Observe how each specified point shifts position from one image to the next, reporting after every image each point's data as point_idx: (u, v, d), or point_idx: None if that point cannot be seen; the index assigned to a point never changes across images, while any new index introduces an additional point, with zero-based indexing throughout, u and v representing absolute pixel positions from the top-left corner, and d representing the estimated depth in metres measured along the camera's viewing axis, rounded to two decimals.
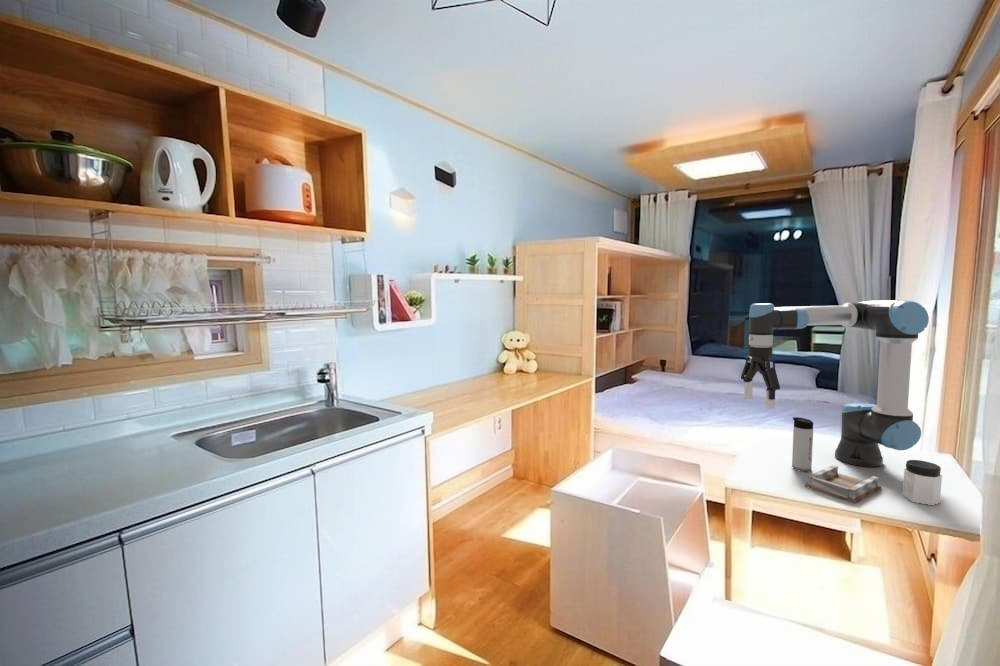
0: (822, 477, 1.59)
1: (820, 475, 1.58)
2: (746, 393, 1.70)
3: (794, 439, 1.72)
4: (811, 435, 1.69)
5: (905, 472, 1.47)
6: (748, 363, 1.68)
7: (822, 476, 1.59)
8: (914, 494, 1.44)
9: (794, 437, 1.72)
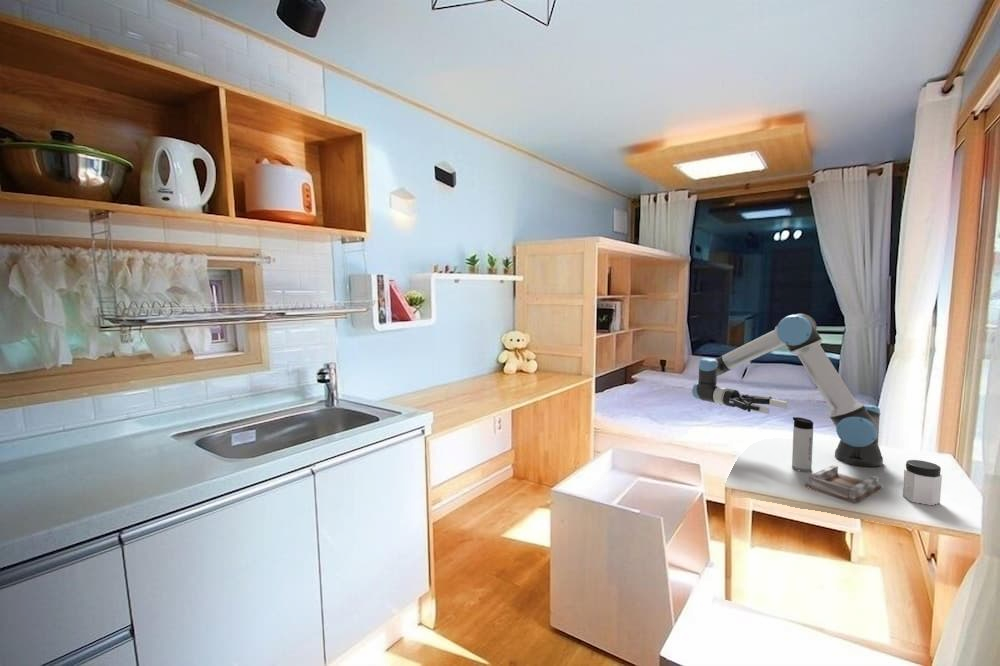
0: (822, 477, 1.59)
1: (820, 475, 1.58)
2: (780, 406, 1.84)
3: (794, 439, 1.72)
4: (811, 435, 1.69)
5: (905, 472, 1.47)
6: (751, 400, 1.93)
7: (822, 476, 1.59)
8: (914, 494, 1.44)
9: (794, 437, 1.72)
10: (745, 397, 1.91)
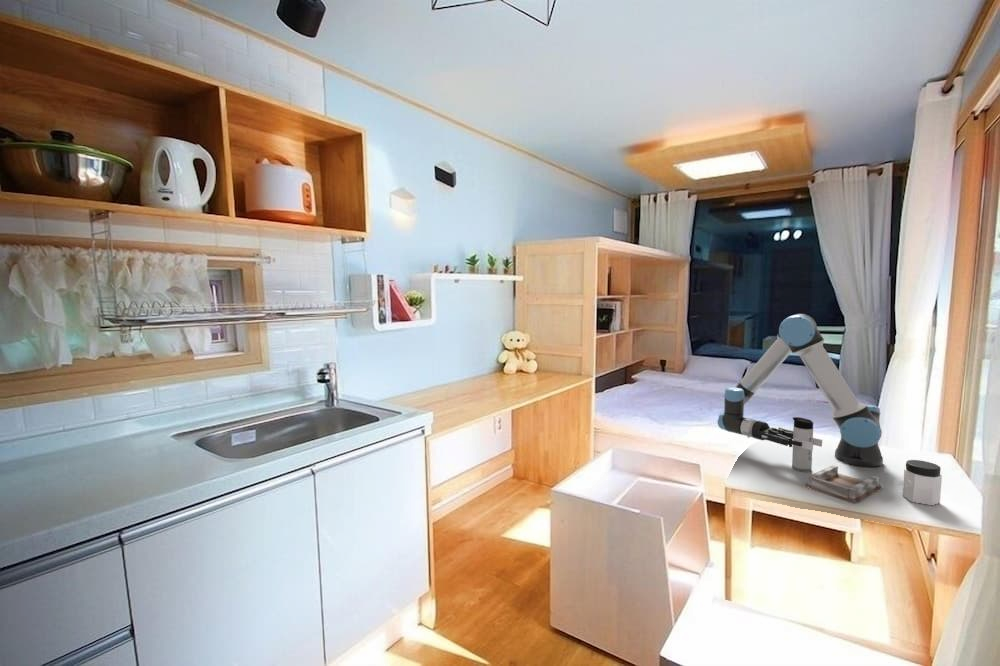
0: (822, 477, 1.59)
1: (820, 475, 1.58)
2: (814, 443, 1.71)
3: None
4: (811, 435, 1.69)
5: (905, 472, 1.47)
6: None
7: (822, 476, 1.59)
8: (914, 494, 1.44)
9: (794, 437, 1.72)
10: (775, 430, 1.82)
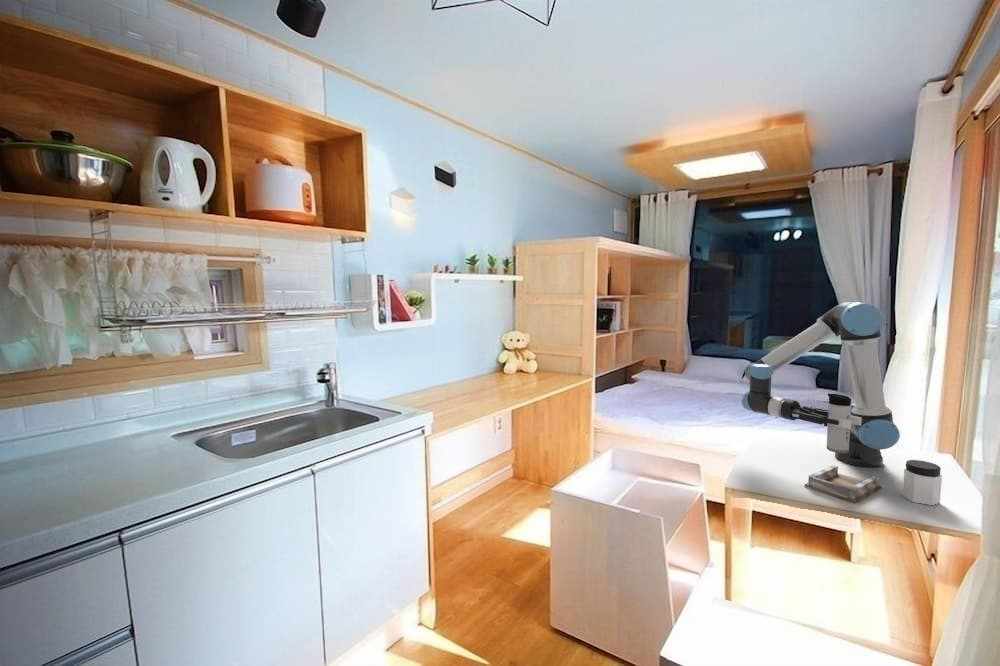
0: (822, 477, 1.59)
1: (820, 475, 1.58)
2: (852, 422, 1.55)
3: None
4: (849, 412, 1.52)
5: (905, 472, 1.47)
6: None
7: (822, 476, 1.59)
8: (914, 494, 1.44)
9: (829, 415, 1.56)
10: None
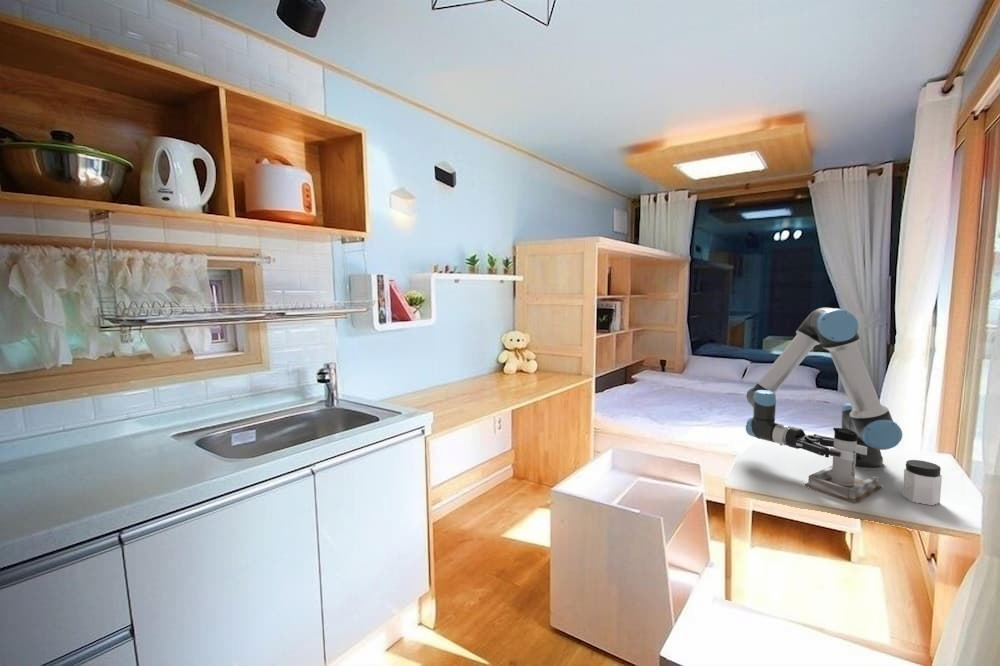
0: (822, 477, 1.59)
1: (820, 475, 1.58)
2: (858, 452, 1.55)
3: None
4: (855, 448, 1.52)
5: (905, 472, 1.47)
6: (819, 441, 1.66)
7: (822, 476, 1.59)
8: (914, 494, 1.44)
9: None
10: None
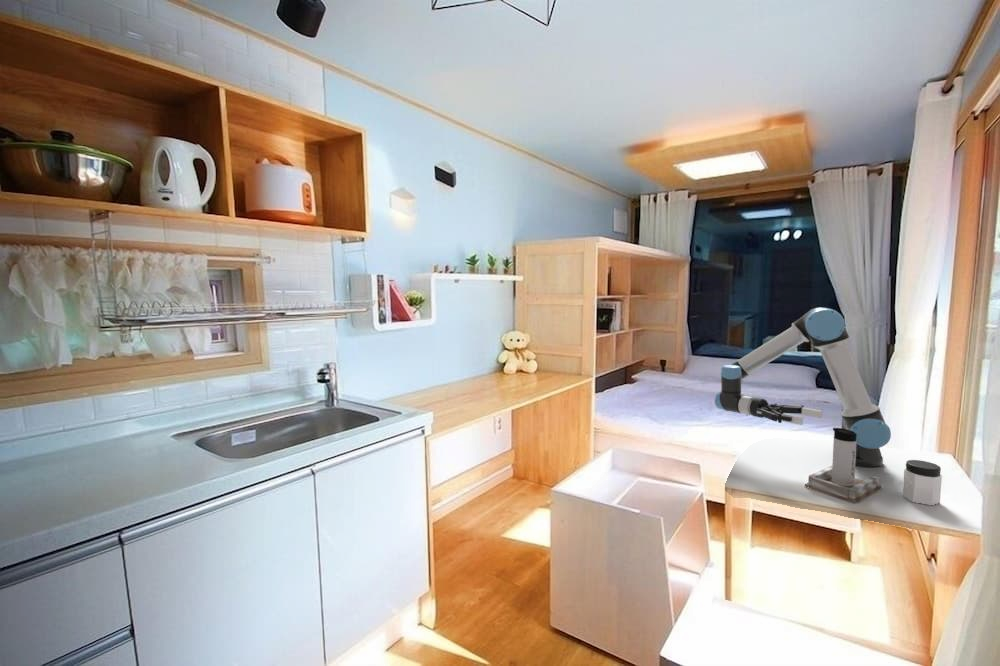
0: (822, 477, 1.59)
1: (820, 475, 1.58)
2: (814, 415, 1.68)
3: (835, 452, 1.55)
4: (854, 448, 1.52)
5: (905, 472, 1.47)
6: None
7: (822, 476, 1.59)
8: (914, 494, 1.44)
9: (835, 450, 1.55)
10: None
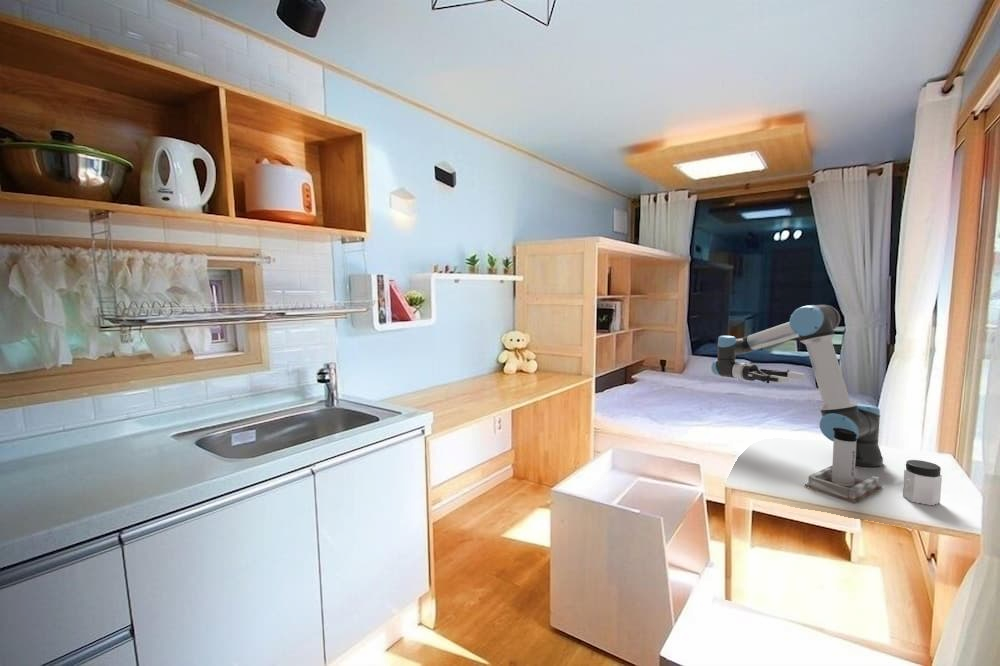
0: (822, 477, 1.59)
1: (820, 475, 1.58)
2: (798, 378, 1.91)
3: (835, 452, 1.55)
4: (854, 448, 1.52)
5: (905, 472, 1.47)
6: None
7: (822, 476, 1.59)
8: (914, 494, 1.44)
9: (835, 450, 1.55)
10: None
